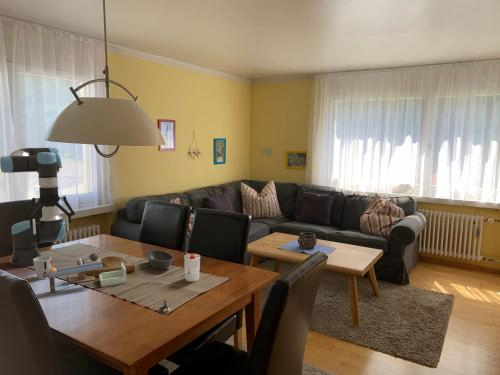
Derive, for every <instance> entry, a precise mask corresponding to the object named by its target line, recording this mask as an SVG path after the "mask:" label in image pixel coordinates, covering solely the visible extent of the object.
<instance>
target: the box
mask: <svg viewBox="0 0 500 375" xmlns="http://www.w3.org/2000/svg"><path fill="white" fill-rule="evenodd" d="M120 265H121V266H120V267H121V268H120V269H119V270H114V271H113V270H112V271H106V272H100V274H98V280H99V283H100V286H101V288H105V287H111V286H115V285H116V286H117V285H121V284H126V283H127V268H126V266H125V265H124V263H123V262H121V263H120Z"/></svg>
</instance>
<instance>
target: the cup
mask: <svg viewBox="0 0 500 375" xmlns="http://www.w3.org/2000/svg"><path fill="white" fill-rule="evenodd" d="M33 262H34V265H33V268H34V270H35V275H36V276H37V279H38V280H44V279H49V278H48V271H49V269H50V268H52V256H51V255H41V256H40V257H36V258H34V259H33Z"/></svg>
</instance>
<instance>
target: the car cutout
mask: <svg viewBox="0 0 500 375" xmlns="http://www.w3.org/2000/svg"><path fill="white" fill-rule="evenodd" d="M168 306H169V304H168V301H167V300H166V299H163V303H162V304H160V308H164V309H163V312H164V313H165V311H166V312H170V311H171V310H172V307H168Z"/></svg>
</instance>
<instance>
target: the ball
mask: <svg viewBox="0 0 500 375" xmlns="http://www.w3.org/2000/svg"><path fill="white" fill-rule="evenodd" d="M56 269H57V268H56V267H51V268H50V269H49V273H50V274H51V273H56V272H57V270H56Z"/></svg>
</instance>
